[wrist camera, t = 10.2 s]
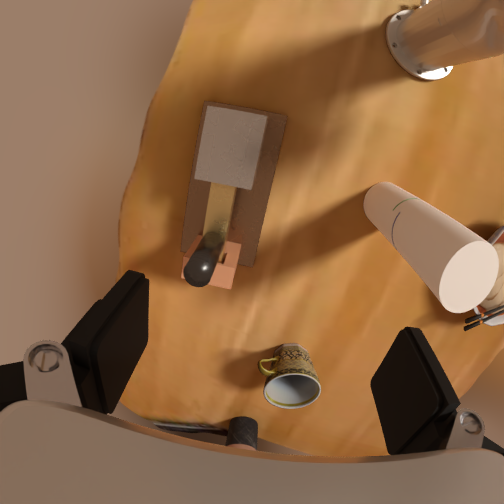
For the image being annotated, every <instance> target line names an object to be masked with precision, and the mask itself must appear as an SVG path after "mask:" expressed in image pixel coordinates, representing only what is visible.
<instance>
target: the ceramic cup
mask: <svg viewBox="0 0 504 504" xmlns="http://www.w3.org/2000/svg"><path fill="white" fill-rule="evenodd" d="M269 361H272V363H271V367H270V370H269V371H268V370H266V369H264V368H263V367H262V365H261V362H269ZM258 368H259V371H260V372H261V373H262V374H263V375H265V376H267V379H266V382H265V386H264V391H263V392H264V397H265V398H266V400H267V401H268V402H269V403H271V404H272V405H274V406H277V407H280V408H286V409H294V408H300V407H304V406H307V405H309V404H311V403H312V402H314V401H315V400H316V399H317V398H318V397H319V395H320V392H321V386H320V382H319V379H318V376H317V374H316V371H315V369H314V367H313V364H312V362H311V359H310V357H309V354H308V351H307V350H306V349H305V348H303V347H302V346H300V345H299V344H297V343H292V344H283V345H281V346H280V347H279V348H278V349H276V350H275V352H274V356H273V358H270V359H262V360H260V361H259V362H258Z"/></svg>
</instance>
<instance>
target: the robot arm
mask: <svg viewBox="0 0 504 504" xmlns="http://www.w3.org/2000/svg"><path fill="white" fill-rule="evenodd" d="M420 4H421V6H420V7H419V8H417V9H416V10H403V11H400V12H398V13H396V14H395V15H393V16H392V17H391V19H390V20H389V21H388V24H387V26H386V41H387V45H388V47H389V50H390V52H391V54H392V55H393V57H394V59H395V60H396V61H397V62H398V64H399V65H400V66H401V67H402V68H403V69H405V70H406V71H407V72H409V73H410V74H411V75H413V76H415V77H417V78H420V79H423V80H430V81H431V80H438V79H441V78H443V77H445V76H447V75H448V74H449V73H450V71H451V70H452V68H453V66H454V65H459V64H463V63H467V62H472V61H477V60H481V59H486V58H491V57H496V56H499V55H502V54H503V53H504V0H432V1H430V2H429V0H421V3H420ZM392 45H393V46H394V47H393V46H392ZM417 72H418V73H417ZM148 307H149V279H146V278H145V275H144V274H143V273H139V272H136V271H132V270H128V271H127V272H126V273H125V274H124V275H123V276H122V277H121V279H120V280H119V281H118V282H117V283H116V284H115V286H114V287H113V288H112V289H111V290H110V291H109V292H108V293H107V294H106V296H105V297H104V298H103V299H102V300H101V299H100V300H98V301H97V302H95V304H94V305H93V306H92V307H91V308H90V310H89V311H88V312H87V313H86V314H85V315H84V317H83V318H82V319H81V320H80V321H79V322H78V324H77V325H76V326H75V327H74V329H73V330H72V331H71V332H70V333H69V335H68V336H67V337H66V338H65V340H64V341H63V342H62V343H61V344H59V343H58V342H55V341H50V340H49V341H48V340H45V341H40V342H36V343H34V344H33V345H31V346H30V347H29V348H28V349H27V350H26V352H25V354H24V359H23V361H21V362H17V363H11V364H6V365H1V366H0V504H504V449H503V448H502V447H500V446H499V445H497V444H496V443H494V442H493V441H491V440H489V439H488V438H486V437H485V436H484V432H485V431H484V430H485V426H484V422H483V420H482V418H481V417H480V416H479V415H478V414H477V413H476V412H475V411H473V410H471V409H466V408H464V409H461V410H460V411H458V412H457V411H456V408H457V407H458V406H459V405H460V402H459V399H458V397H457V395H456V393H455V391H454V389H453V387H452V385H451V383H450V381H449V380H448V378H447V376H446V374H445V372H444V370H443V368H442V366H441V364H440V363H439V361H438V359H437V357H436V355H435V354H434V352H433V350H432V348H431V346H430V345H429V343H428V341H427V339H426V338H425V336H424V334H423V333H422V331H421V330H420V329H419V328H414V327H405V328H404V329H403V330H401V331H400V332H399V333H398V335H397V337H396V339H395V340H394V342H393V344H392V346H391V348H390V349H389V351H388V353H387V354H386V356H385V358H384V359H383V361H382V363H381V364H380V366H379V368H378V369H377V371H376V372H375V374H374V376H373V377H372V379H371V390H372V393H373V397H374V400H375V404H376V408H377V411H378V415H379V419H380V423H381V426H382V430H383V434H384V438H385V442H386V446H387V451H388V453H389V454H390V455H387V456H367V457H324V456H303V455H289V454H279V453H268V452H261V451H253V450H246V449H240V448H234V447H228V446H222V445H216V444H211V443H207V442H202V441H198V440H193V439H189V438H184V437H181V436H177V435H172V434H169V433H165V432H161V431H157V430H154V429H150V428H147V427H144V426H140V425H137V424H134V423H130V422H127V421H124V420H121V419H119V418H115V417H112V416H109V415H107V413H110V414H111V413H113V411H114V409H115V407H116V405H117V403H118V401H119V399H120V397H121V395H122V393H123V391H124V389H125V387H126V385H127V383H128V381H129V379H130V377H131V375H132V373H133V371H134V369H135V367H136V365H137V363H138V361H139V359H140V357H141V355H142V353H143V351H144V349H145V348H146V345H147V342H148Z"/></svg>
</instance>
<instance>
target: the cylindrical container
mask: <svg viewBox="0 0 504 504" xmlns="http://www.w3.org/2000/svg"><path fill="white" fill-rule="evenodd" d="M363 207H364V212H365V214H366V216H367V218H368V219H369V220H370V221H371V222H372V223H373V224H374V225H375V227H376V228H377V229H378V230H379V231H380V232H381V233H382V234H383V235H384V236H385V237H386V238H387V240H388V241H389V242H390V243H391V244H392V245H393V246H394V247H395V248H396V250H397V251H398V252H399V253H400V254H401V255H402V256H403V258H404V259H405V260H406V261H407V262H408V263H409V264H410V266H411V267H412V268H413V269H414V270H415V272H416V273H417V274H418V275H419V276H420V278H421V279H422V280H423V281H424V282H425V284H426V285H427V286H428V287H429V289H430V290H431V291H432V292H433V294H434V295H435V296H436V297H437V299H438V300H439V301H440V302H441V304H442V305H443V306H444V307H445V309H447V310H448V311H450V312H453V313H463V312H466V311H469V310H471V309H473V308H474V307H476V306H477V305H479V304H480V303H481V302H482V301H483V300H484V299H485V298H486V297H487V295H488V294H489V293H490V291H491V289H492V288H493V286H494V283H495V281H496V278H497V275H498V269H499V259H498V255H497V252H496V250H495V248H494V247H493V246H492V245H491V244H490V243H488V242H487V241H486V240H484V239H483V238H481V237H480V236H478V235H477V234H475V233H474V232H473V231H471V230H470V229H468V228H467V227H465V226H463V225H462V224H460V223H459V222H457V221H456V220H454V219H453V218H451V217H449V216H448V215H446V214H445V213H443V212H441V211H440V210H438V209H436V208H435V207H433V206H431V205H430V204H428V203H426V202H425V201H423V200H421V199H419V198H418V197H416V196H414V195H412V194H411V193H409V192H407V191H405V190H403V189H402V188H400V187H398V186H396V185H394V184H392V183H389V182H381V183H377V184H375V185H374V186H372V187H371V188H370V189H369V190H368V192H367V193H366V195H365V198H364V204H363Z"/></svg>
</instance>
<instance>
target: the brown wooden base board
mask: <svg viewBox="0 0 504 504" xmlns="http://www.w3.org/2000/svg"><path fill="white" fill-rule="evenodd" d="M286 120H287V116H285V115H281V114H276V113H272V112H267V111H262V110H257V109H252V108H247V107H241V106H235V105H229V104H223V103H217V102H210V101H204V106H203V111H202V116H201V121H200V126H199V131H198V137H197V142H196V148H195V154H194V159H193V165H192V171H191V178H190V184H189V191H188V198H187V205H186V212H185V219H184V227H183V235H182V243H181V252H185V253H186V252H187V251H188V249H189V248H190V246H191V245H192V243H193V242H194V240H195V239H196V237H197V236H198V235H201V236H203V230H204V224H205V217H206V211H207V205H208V199H209V193H210V187H211V182H214V183H219V184H224V185H229V186H234V187H237V191H236V196H235V201H234V206H233V211H232V216H231V222H230V227H229V232H228V237H227V241H229V242H234V243H238V244H241V249H240V254H239V259H238V263H237V264H240V265H244V266H249V267H253V264H254V259H255V255H256V251H257V247H258V242H259V238H260V234H261V229H262V225H263V221H264V216H265V212H266V208H267V203H268V199H269V195H270V190H271V186H272V182H273V177H274V173H275V168H276V164H277V160H278V155H279V151H280V147H281V142H282V138H283V133H284V129H285V125H286Z"/></svg>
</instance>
